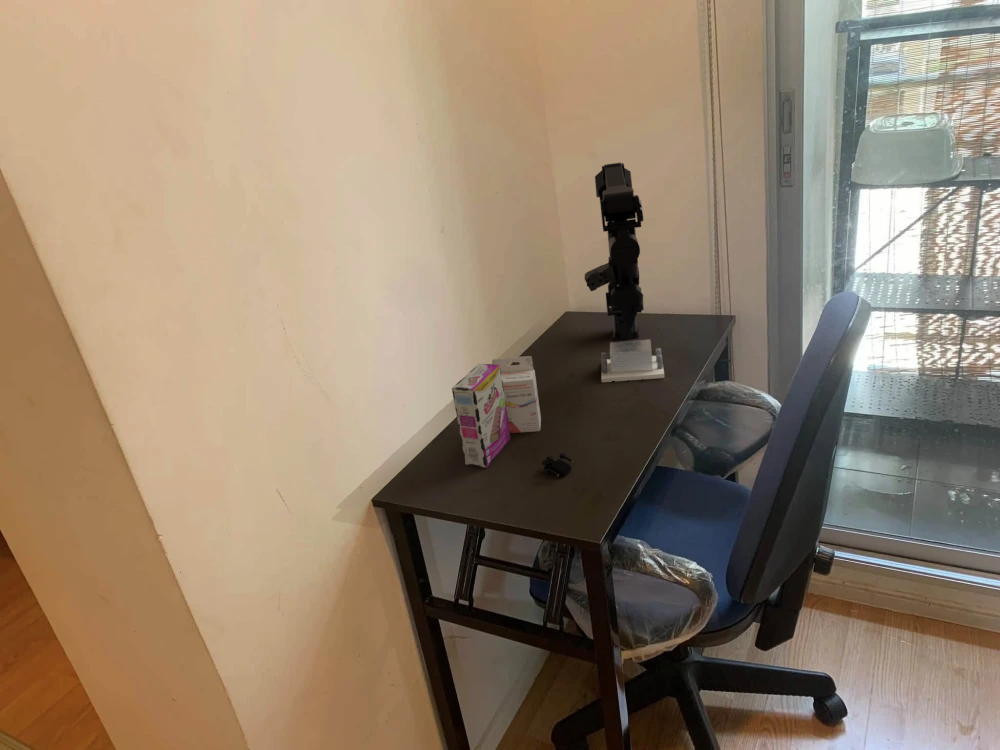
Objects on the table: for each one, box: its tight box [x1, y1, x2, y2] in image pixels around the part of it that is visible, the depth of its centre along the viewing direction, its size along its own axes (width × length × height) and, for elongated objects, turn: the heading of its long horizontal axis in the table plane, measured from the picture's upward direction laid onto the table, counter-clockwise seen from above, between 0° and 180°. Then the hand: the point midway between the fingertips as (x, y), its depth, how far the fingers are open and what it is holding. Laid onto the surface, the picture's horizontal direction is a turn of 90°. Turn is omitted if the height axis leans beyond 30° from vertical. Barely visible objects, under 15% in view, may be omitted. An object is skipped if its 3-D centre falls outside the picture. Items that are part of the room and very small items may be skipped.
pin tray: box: [600, 347, 665, 383], centre depth 156 cm, size 10×14×4 cm
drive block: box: [609, 338, 653, 374], centre depth 156 cm, size 6×9×5 cm, turn 81°
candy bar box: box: [451, 363, 511, 469], centre depth 131 cm, size 11×5×16 cm, turn 155°
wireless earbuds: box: [541, 452, 574, 478], centre depth 124 cm, size 7×2×5 cm
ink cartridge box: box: [491, 355, 542, 434], centre depth 138 cm, size 9×5×15 cm, turn 84°
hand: (628, 321), depth 153 cm, fingers open, 9 cm apart
